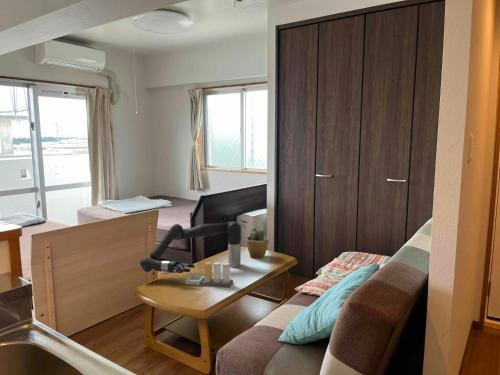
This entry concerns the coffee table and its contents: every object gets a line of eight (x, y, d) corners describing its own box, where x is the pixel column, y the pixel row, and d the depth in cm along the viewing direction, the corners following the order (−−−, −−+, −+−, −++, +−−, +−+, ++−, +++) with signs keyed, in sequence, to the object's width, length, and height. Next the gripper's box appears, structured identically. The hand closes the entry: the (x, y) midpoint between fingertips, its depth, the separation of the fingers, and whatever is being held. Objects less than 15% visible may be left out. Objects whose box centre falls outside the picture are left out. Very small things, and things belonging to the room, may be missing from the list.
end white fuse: (224, 280, 247) (223, 262, 246) (230, 281, 247) (229, 263, 245) (222, 282, 244) (222, 264, 243) (228, 282, 243) (228, 264, 242)
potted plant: (241, 258, 302) (241, 227, 299) (254, 252, 317) (253, 223, 314) (260, 262, 291) (260, 230, 288) (272, 255, 307) (272, 225, 304)
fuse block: (205, 280, 253) (205, 274, 253) (233, 282, 249) (233, 276, 249) (201, 285, 244) (201, 279, 244) (229, 287, 241) (229, 281, 240)
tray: (190, 279, 256) (190, 274, 255) (204, 280, 254) (204, 275, 253) (185, 284, 246) (185, 280, 246) (199, 285, 244) (199, 281, 244)
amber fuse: (206, 279, 250) (206, 261, 248) (212, 279, 249) (212, 262, 248) (205, 281, 247) (204, 263, 245) (210, 281, 246) (210, 263, 244)
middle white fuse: (215, 279, 249) (215, 262, 247) (221, 280, 248) (220, 262, 246) (213, 281, 245) (213, 263, 244) (219, 282, 245) (219, 264, 243)
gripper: (173, 268, 260) (195, 270, 257) (164, 275, 246) (188, 277, 243) (173, 258, 259) (195, 259, 256) (164, 264, 245) (188, 266, 242)
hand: (192, 268), depth 249 cm, fingers open, 8 cm apart
